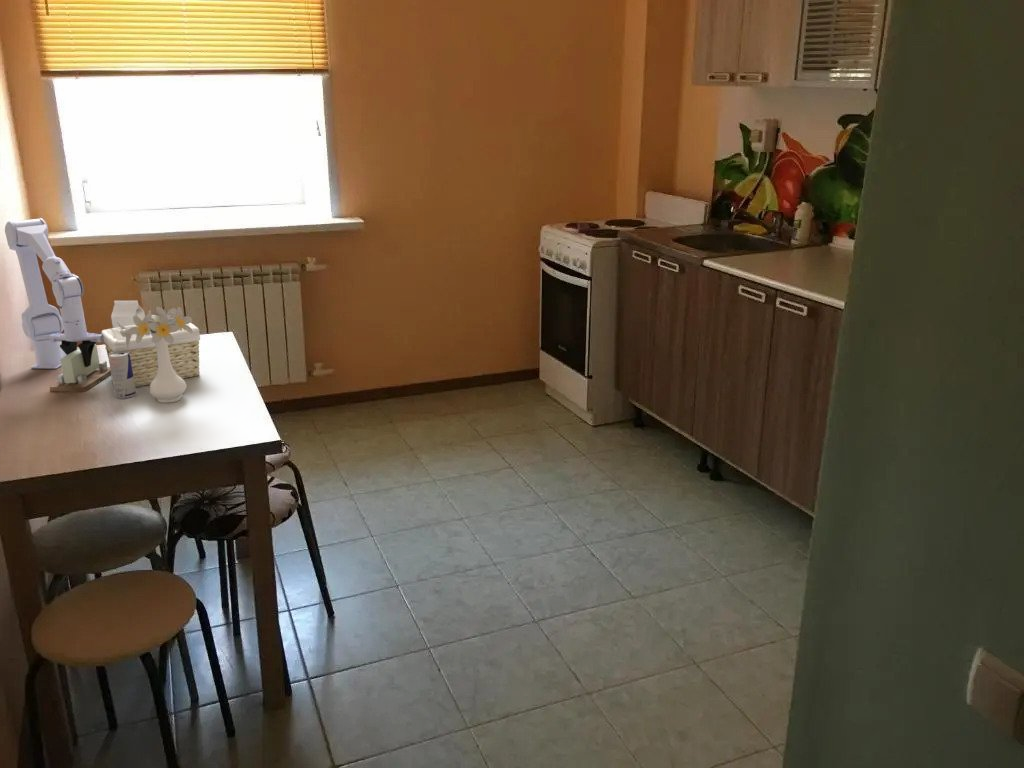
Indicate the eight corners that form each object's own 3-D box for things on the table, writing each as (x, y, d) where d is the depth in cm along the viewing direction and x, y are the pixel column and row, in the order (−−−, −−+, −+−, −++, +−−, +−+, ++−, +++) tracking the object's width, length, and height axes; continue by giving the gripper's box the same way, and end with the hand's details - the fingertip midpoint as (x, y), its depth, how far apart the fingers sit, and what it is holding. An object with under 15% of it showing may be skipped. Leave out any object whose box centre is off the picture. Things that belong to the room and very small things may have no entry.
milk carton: (142, 364, 262) (132, 303, 255) (118, 364, 262) (108, 303, 256) (151, 357, 268) (142, 297, 262) (128, 357, 269) (119, 298, 262)
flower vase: (125, 400, 232) (111, 310, 224) (195, 386, 242) (183, 300, 234) (136, 414, 222) (121, 321, 214) (209, 400, 232) (197, 310, 223)
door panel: (90, 367, 253) (86, 344, 251) (100, 367, 253) (96, 344, 251) (64, 382, 240) (60, 358, 238) (75, 382, 240) (70, 358, 238)
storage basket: (190, 362, 263) (184, 316, 258) (207, 376, 251) (201, 327, 246) (107, 378, 250) (98, 329, 245) (120, 393, 238) (111, 342, 233)
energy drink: (140, 392, 238) (133, 351, 234) (130, 399, 233) (123, 357, 229) (121, 392, 238) (114, 350, 234) (111, 398, 233) (104, 356, 229)
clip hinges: (84, 368, 254) (83, 360, 253) (107, 369, 254) (106, 361, 253) (58, 384, 241) (57, 376, 240) (82, 385, 240) (81, 376, 240)
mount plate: (83, 370, 256) (83, 366, 256) (116, 370, 256) (115, 367, 255) (50, 391, 239) (49, 387, 239) (85, 391, 239) (84, 387, 238)
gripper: (40, 323, 238) (49, 370, 243) (91, 323, 237) (99, 370, 242) (54, 317, 245) (63, 362, 249) (104, 317, 244) (111, 362, 249)
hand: (81, 365), depth 246 cm, fingers closed on door panel, 3 cm apart
